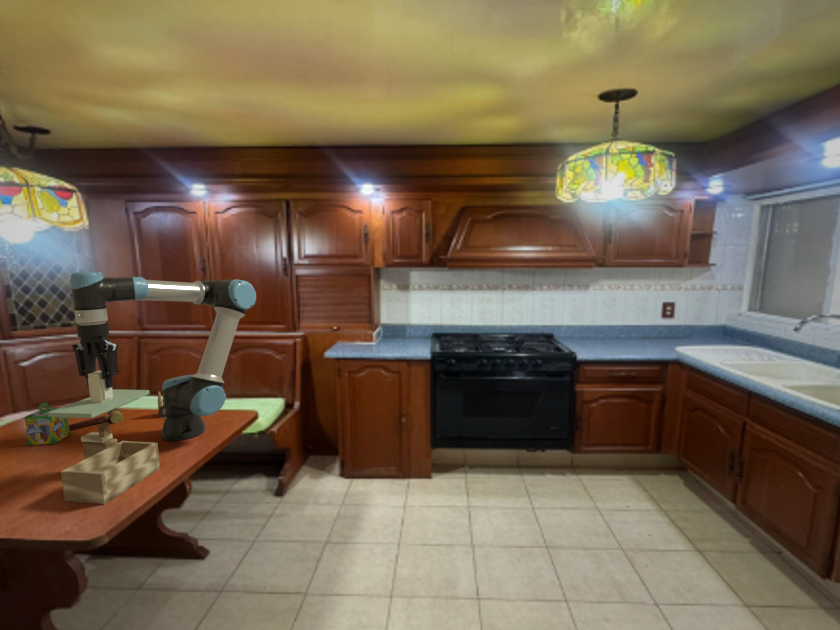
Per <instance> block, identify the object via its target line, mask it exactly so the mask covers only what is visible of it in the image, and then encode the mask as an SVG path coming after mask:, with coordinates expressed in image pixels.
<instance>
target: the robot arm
mask: <svg viewBox="0 0 840 630" xmlns="http://www.w3.org/2000/svg"><path fill="white" fill-rule="evenodd" d="M70 290H71V296H72V302H73V309H74V317H75V323H76V324H77V325H76V326H75V327H76V332H77V333H76V334H77V337H78V338H80V341H79V343H75V344H72V345H71V348H72V350H73V351H74V354H75V360H76V366H77V370H78V376H79V377H83V378H85V379H86V384H87V385H86V386H87V388H88V391H89V392H90V386H89V379H88V374H89V373H93V372H96V371H97V370H96V366H97V362H98V366H99V368H100V371H101V372H102V375H103V377H101V385H102V393H103V399H108V398H111V397H113V392H112V389H113V387H114V380H113V377H114V376H116V375H118V374H119V363H118V362H119V361H118V348H119V343H113V342H110V340H109V338H108V336H109V334H110V327H109V323H108V322H107V321H109V318H108V311H107V303H111V302H114V303H115V302H124V301H125V302H126V301H151V302H152V301H154V302H155V301H156V302H157V301H159V302H160V301H161V302H188V303H189V302H191V303H193V304H194V305H205V306H209V307H210V306H211V307H213V309H214V310H215V312H216V314H215V318H214V321H213V324H212V327H211V331H210V332H209V337H208V339H207V341H206V342H207V343H206V345H205V347H204V348H205V349H204V350H203V354H202V358H201V360H200V364H199V367H198V370H197V372H196V373H194V374H186V375H180V376H176V377H171V378H168V379H166V380H164V381H163V383H162V390H161V391H162V399H163V398H164V407H165V417H164V422H163V426H162V430H161V438H162V440H164V441H168V442H172V441H173V442H176V441H184V440H185V441H186V440H188V439H192V438H194V437H198V436H199V435H202V434H203V433H204V432H205V431H206V423H205V421H204V420H203V417H208V416H213V415H215V414H216V413H218V412H219V411H220V410H221V409H222V408H223V406H224V405H225V402H226V400H227V399H226V398H227V394H226V393H225V390H224V388H223V387H224V385H225V381H224V380H223V377H222V376H223V374H224V369H225V367H226V364H227V361H228V357H229V354H230V351H231V348H232V345H233V342H234V338H235V334H236V332H237V329H238V325H239V322H240V319H242V318H243V317H244V318H245V316H246V313H247V310H248V309H251V308H252V307H254V305H255V304H256V301H257V292H256V290H255V288H254V286H253V285H252V283H250V282H249V281H247V280H242V279H214V280H213V279H211V280H195V281H193V282H186V281H184V282H183V281H170V280H167V281H166V280H154V279H146V278H144V277H142V276H128V277H127V276H123V277H122V276H119V277H118V276H117V277H115V276H112V277H111V276H108V277H106V276H103V273H102V272H101V271H86V272H85V271H82V272H81V271H79V272H76V271H75V272H73V273H71V274H70ZM89 397H90V399H91V394H90V393H89Z"/></svg>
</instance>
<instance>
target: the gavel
mask: <svg viewBox="0 0 840 630" xmlns="http://www.w3.org/2000/svg"><path fill="white" fill-rule="evenodd" d="M124 419H125V417H124V414H123V413H122V410H121V409H120V408H119V407H118V408H116V409H113V410H111V411H109V412H107V415H104V416H101V415H100V416H97V417H94V418H89V419H87V420H83V421H79V422H75V423H71V424H69V428H70V431H74V430H79V429H83V428H87V427H90V426H91V427H92V426H94V425H99V424H101V423H105V422H107V421H110V422H111V423H112V424H118V423H119V424H120V423H122V422H123V421H124Z"/></svg>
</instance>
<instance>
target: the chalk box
mask: <svg viewBox="0 0 840 630" xmlns="http://www.w3.org/2000/svg"><path fill="white" fill-rule="evenodd" d="M37 406H38V410H37V411H35V412H32V413H30V414H28V415H26V416H25V417H24V418H23V419H24V423H25V430H26V436H27V443H28V444H27V445H28V446H29V447H31V446H43V445H54V444H57V443H58V442H60V441H62V440H64V439H66V438H68V436H70V435H71V430H70V428H69V425H70V422H69V418H63V417H48V414H47V413H48V412H50V411H53V410H56V409H59V408H60V407H55V408H54V407H53V408H50V406H49V403H48V402H46V401H45V402H43V403H41V404H39V405H37ZM43 407H46V408H45V409H43Z"/></svg>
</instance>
